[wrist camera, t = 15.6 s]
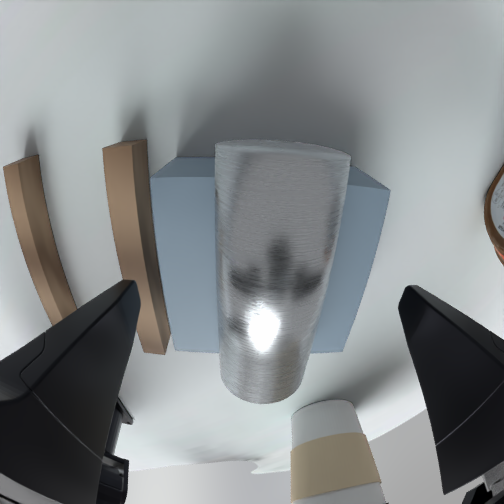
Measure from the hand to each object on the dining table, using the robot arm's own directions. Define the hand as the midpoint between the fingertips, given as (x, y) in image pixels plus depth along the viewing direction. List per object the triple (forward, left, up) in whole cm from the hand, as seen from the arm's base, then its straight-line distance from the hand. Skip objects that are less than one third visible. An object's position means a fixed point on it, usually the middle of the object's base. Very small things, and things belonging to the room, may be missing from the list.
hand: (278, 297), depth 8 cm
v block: (-2, 0, -7) cm, 7 cm away
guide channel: (-3, +11, -7) cm, 13 cm away
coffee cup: (-22, -8, -7) cm, 25 cm away
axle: (-1, 0, -2) cm, 2 cm away
